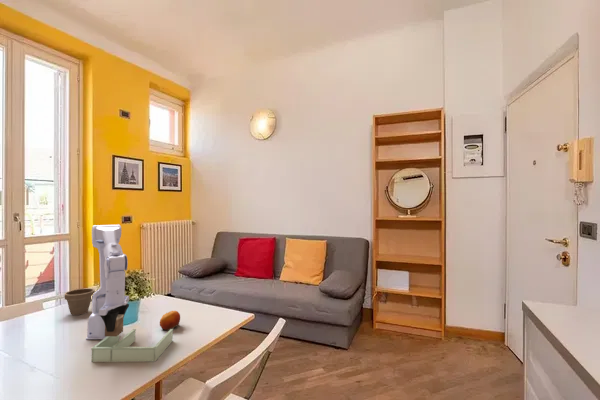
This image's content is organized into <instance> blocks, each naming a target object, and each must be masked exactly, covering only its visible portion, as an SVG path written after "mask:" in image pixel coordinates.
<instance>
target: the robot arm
mask: <svg viewBox="0 0 600 400" xmlns="http://www.w3.org/2000/svg"><path fill="white" fill-rule="evenodd" d="M121 238H122V226H121V225H120V224H119V223H117V224H100V225H99V224H97V225H96V224H94V225H92V227H91V243H92V247H94V248H96V249H97V250H98V253H99V285H100V287H99V289H97V290H96V291H95V293H94V294H93V296H92V299H91V313H90V315H89V317H88V320H87V329H86V331H87V332H86V333H87V334H86V335H87V336H86V337H85V340H103V339H104V338H106V337H107V336H105V327H106V330H107V332H113V331H114V329H115V323H116V318H117V316H118V314H124V316H123V319H124V318H125V314H126V313H127V310H128V308H129V306H130V304H129V303H128V302H129V301H130V296H129V295H125V294H126V293H125V291H126V290H125V289H126V272H127V270H128V264H129V263H128V261H129V260H128V256H127V254H126V253H124V252H123V249H122V245H121V244H119V243H120V242H121V241H120V240H121Z"/></svg>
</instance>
